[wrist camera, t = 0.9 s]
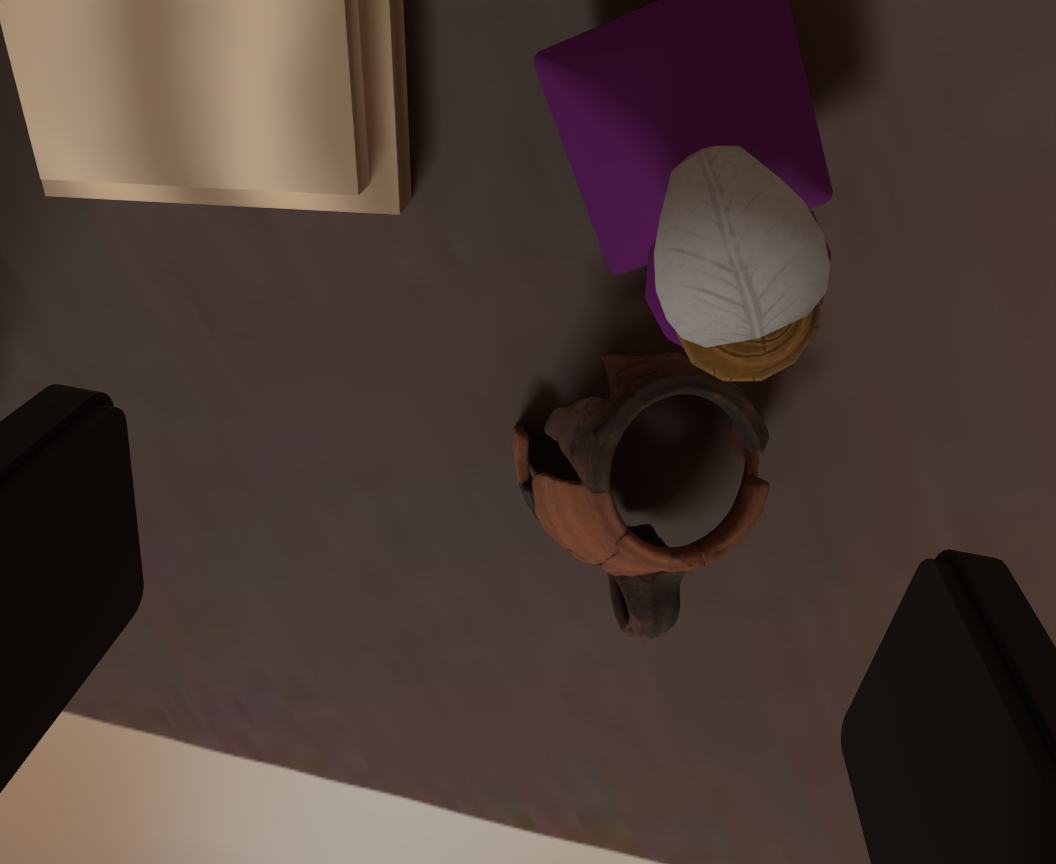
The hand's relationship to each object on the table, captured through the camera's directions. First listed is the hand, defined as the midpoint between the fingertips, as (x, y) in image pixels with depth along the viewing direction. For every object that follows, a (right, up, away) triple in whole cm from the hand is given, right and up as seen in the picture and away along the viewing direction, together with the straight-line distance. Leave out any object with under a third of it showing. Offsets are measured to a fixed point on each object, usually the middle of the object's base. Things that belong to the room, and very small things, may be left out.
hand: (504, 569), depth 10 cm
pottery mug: (+5, +1, +26) cm, 27 cm away
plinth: (-10, +16, +19) cm, 27 cm away
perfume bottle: (+6, +13, +19) cm, 24 cm away
